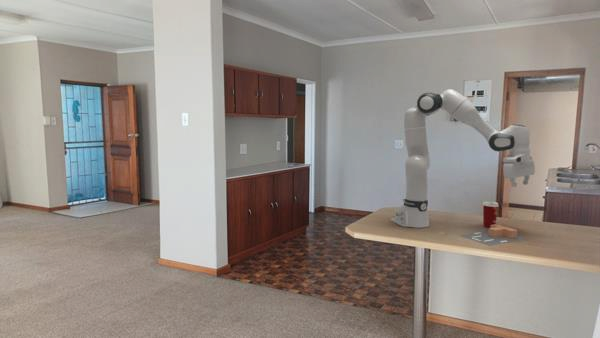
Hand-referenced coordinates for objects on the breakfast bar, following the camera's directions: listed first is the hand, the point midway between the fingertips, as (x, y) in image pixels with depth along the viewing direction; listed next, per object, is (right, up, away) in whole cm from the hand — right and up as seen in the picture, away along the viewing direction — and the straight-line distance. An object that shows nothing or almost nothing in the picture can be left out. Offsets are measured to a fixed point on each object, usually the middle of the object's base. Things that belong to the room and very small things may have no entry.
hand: (519, 185), depth 200 cm
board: (-15, -26, -4) cm, 30 cm away
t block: (-10, -25, -1) cm, 27 cm away
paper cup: (-7, -24, +16) cm, 30 cm away
